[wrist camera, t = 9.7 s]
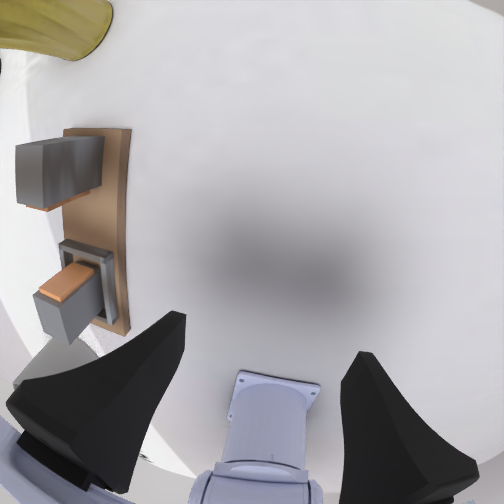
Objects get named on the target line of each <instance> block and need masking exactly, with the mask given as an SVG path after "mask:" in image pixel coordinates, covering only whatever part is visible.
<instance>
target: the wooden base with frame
mask: <svg viewBox="0 0 504 504" xmlns="http://www.w3.org/2000/svg"><path fill="white" fill-rule="evenodd" d="M130 137H131V129H108V128H70V129H64V131H63V137H61V138H54V139H48V140H42V141H36V142H31V143H26V144H21V145H16V153H15V174H16V196H17V203H20V204H24V205H26V207H30V208H34V209H38V210H42V211H46V212H49V211H51V210H53V209H55V208H57V207H60V206H62V216H63V230H64V241H62V242H61V243H59V252H60V259H61V266H62V269H64V268H65V267H67V266H68V265H69V264H71V263H72V262H74V263H75V262H76V261H77V260H78V261H81V262H84V263H87V264H90V265H93V266H97V267H100V268H101V276H102V285H103V294H104V301H105V307H104V308H103V309H102V310H101V311H100V313H99V314H98V315H97V316H96V317H95V318H94V319H93V320H92V321H91V322H90V323H92V324H94V325H97V326H99V327H101V328H104V329H106V330H109V331H111V332H114V333H116V334H119V335H122V336H124V337H125V336H126V335H127V333H128V332H129V331H130V320H129V310H128V298H127V283H126V260H125V206H126V184H127V169H128V157H129V146H130Z"/></svg>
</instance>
